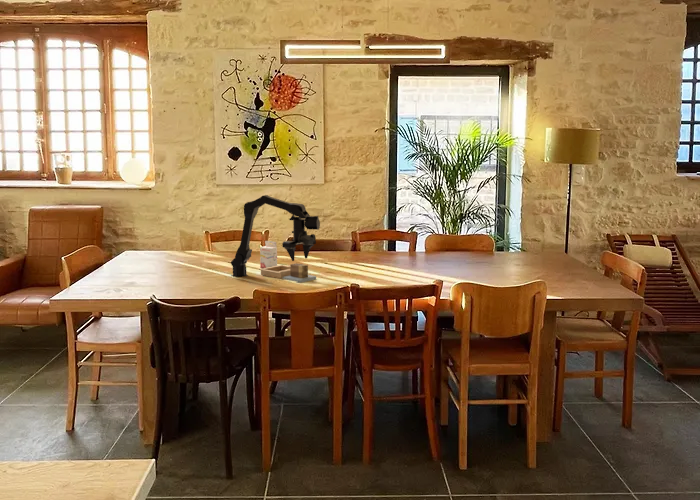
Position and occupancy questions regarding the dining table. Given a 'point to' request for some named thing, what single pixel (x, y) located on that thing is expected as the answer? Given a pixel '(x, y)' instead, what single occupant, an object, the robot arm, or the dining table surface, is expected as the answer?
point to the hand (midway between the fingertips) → (299, 259)
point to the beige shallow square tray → (276, 271)
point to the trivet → (300, 278)
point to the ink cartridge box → (268, 255)
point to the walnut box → (299, 270)
